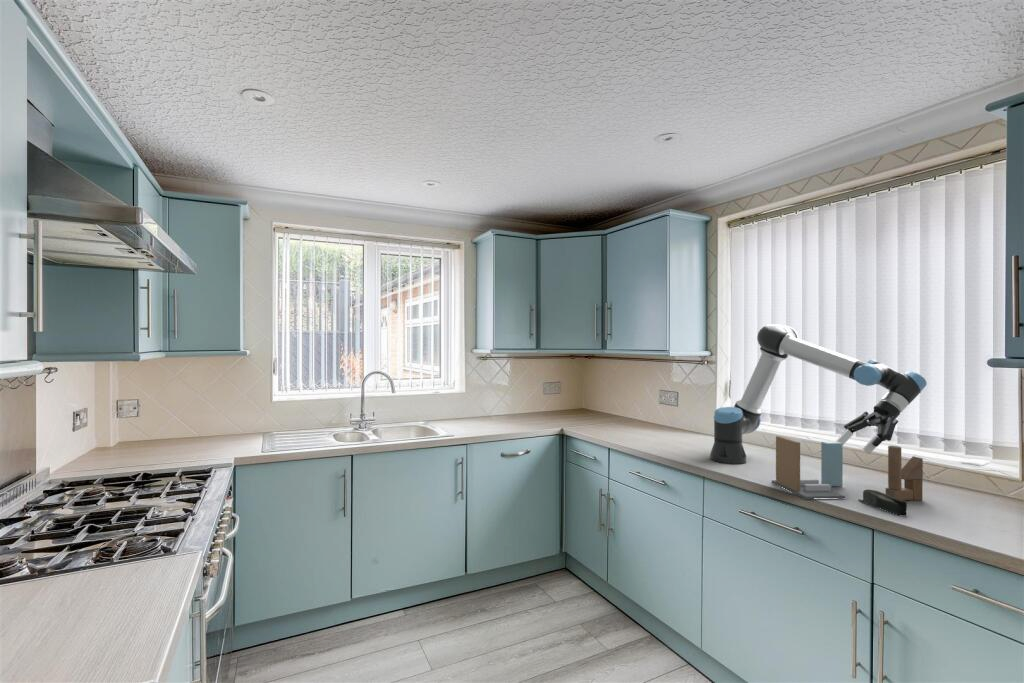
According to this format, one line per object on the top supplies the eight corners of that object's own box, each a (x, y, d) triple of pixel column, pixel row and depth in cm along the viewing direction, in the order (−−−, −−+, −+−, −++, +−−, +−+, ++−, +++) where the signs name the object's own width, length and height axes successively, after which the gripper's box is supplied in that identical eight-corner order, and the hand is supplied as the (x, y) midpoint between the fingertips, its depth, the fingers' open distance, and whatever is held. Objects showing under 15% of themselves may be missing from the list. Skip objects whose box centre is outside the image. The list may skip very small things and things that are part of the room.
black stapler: (908, 501, 151) (864, 486, 166) (900, 501, 151) (856, 486, 165) (908, 517, 151) (863, 500, 166) (900, 517, 151) (856, 501, 165)
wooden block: (923, 500, 166) (923, 447, 166) (894, 501, 165) (894, 447, 165) (912, 497, 170) (912, 444, 170) (884, 498, 169) (884, 445, 169)
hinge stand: (771, 483, 187) (771, 435, 187) (807, 482, 187) (807, 435, 188) (805, 499, 167) (805, 446, 167) (845, 499, 167) (845, 445, 168)
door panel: (821, 484, 185) (821, 441, 185) (836, 484, 185) (836, 441, 186) (826, 486, 182) (826, 443, 182) (842, 486, 182) (842, 443, 183)
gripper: (926, 418, 172) (886, 462, 171) (870, 409, 197) (834, 447, 196) (912, 403, 172) (871, 447, 171) (858, 396, 197) (821, 434, 196)
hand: (851, 447), depth 183 cm, fingers open, 13 cm apart
